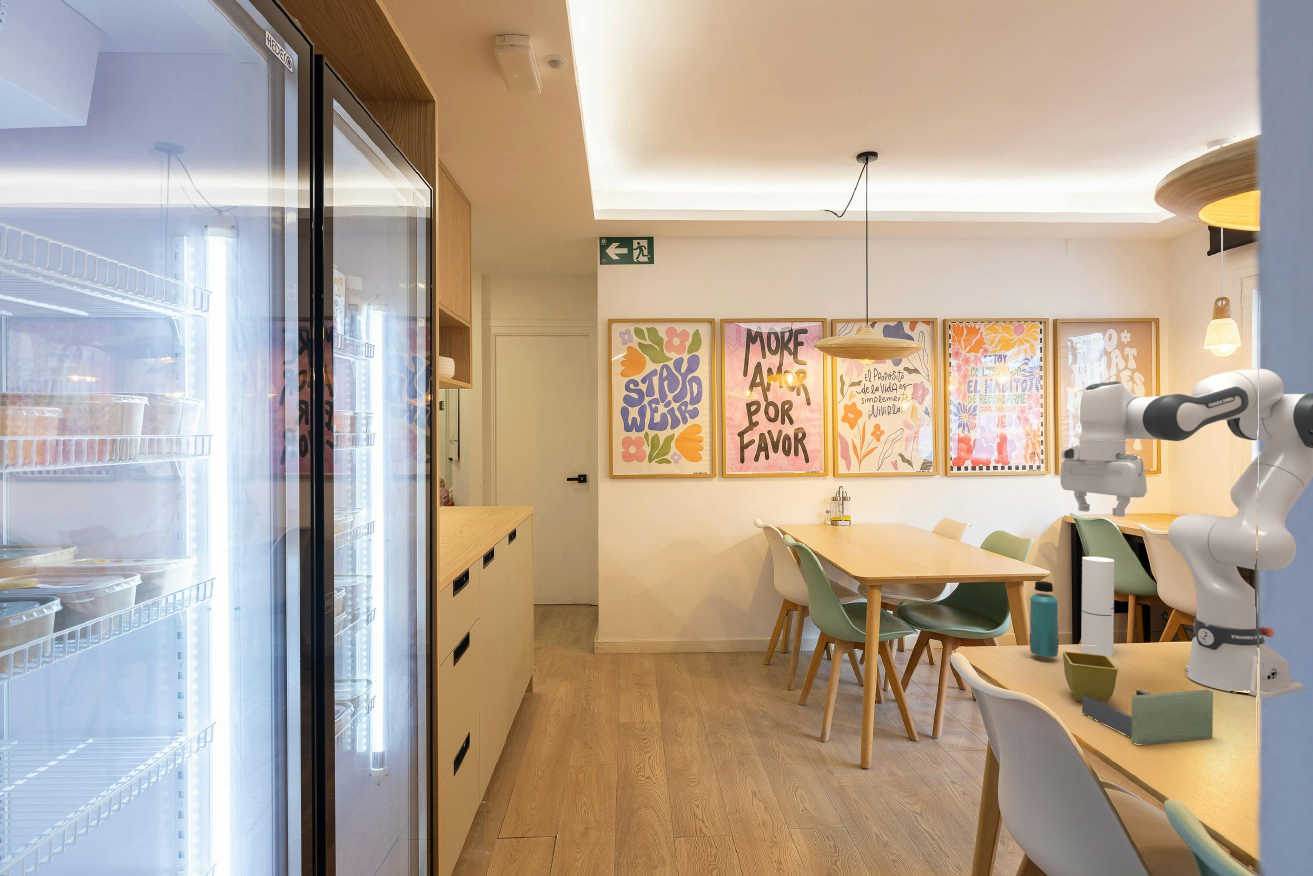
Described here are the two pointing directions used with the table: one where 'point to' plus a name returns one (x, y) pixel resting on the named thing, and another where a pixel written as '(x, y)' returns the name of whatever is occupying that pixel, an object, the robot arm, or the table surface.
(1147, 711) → the bracket
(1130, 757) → the table surface
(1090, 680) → the flower pot
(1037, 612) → the beverage bottle
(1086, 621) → the cylindrical container
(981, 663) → the table surface
